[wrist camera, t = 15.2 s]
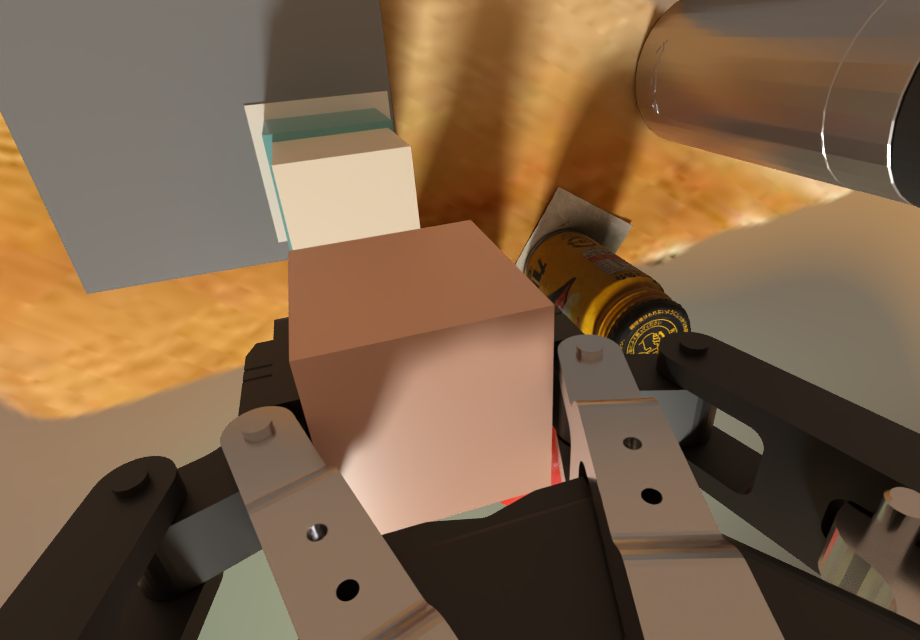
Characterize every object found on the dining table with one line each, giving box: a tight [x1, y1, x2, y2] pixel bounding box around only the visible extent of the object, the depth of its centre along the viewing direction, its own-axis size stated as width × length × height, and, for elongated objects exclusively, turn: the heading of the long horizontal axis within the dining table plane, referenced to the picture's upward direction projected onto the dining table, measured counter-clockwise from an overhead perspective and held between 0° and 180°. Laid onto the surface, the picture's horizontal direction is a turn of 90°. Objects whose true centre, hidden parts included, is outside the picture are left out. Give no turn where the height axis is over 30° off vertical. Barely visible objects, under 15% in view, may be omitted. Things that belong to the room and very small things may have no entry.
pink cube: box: [288, 220, 555, 535], centre depth 12 cm, size 5×5×5 cm
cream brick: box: [272, 128, 420, 250], centre depth 24 cm, size 5×5×5 cm
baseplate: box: [0, 0, 396, 294], centre depth 28 cm, size 18×15×1 cm
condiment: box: [515, 187, 691, 354], centre depth 34 cm, size 7×8×12 cm
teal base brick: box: [262, 108, 393, 251], centre depth 28 cm, size 6×6×5 cm
